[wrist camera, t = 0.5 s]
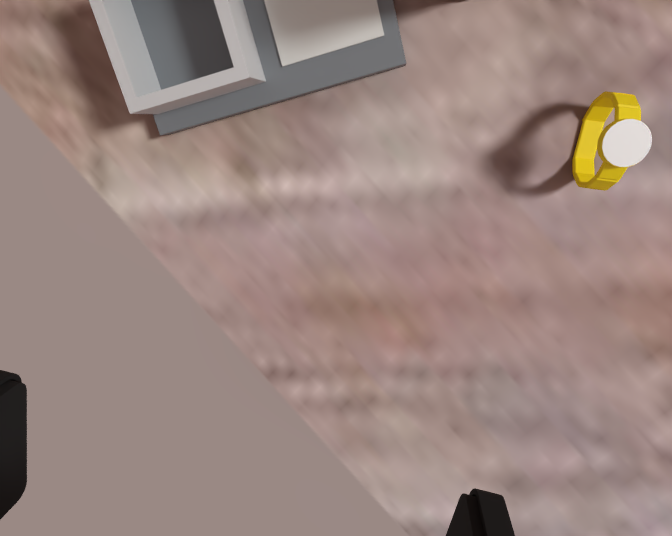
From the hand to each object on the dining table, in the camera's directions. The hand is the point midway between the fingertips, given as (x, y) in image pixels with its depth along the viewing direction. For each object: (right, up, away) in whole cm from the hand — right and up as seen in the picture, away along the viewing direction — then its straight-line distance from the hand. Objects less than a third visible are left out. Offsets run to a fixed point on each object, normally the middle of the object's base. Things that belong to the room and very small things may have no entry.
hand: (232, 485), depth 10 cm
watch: (+20, +13, +24) cm, 34 cm away
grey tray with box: (-3, +22, +23) cm, 32 cm away
